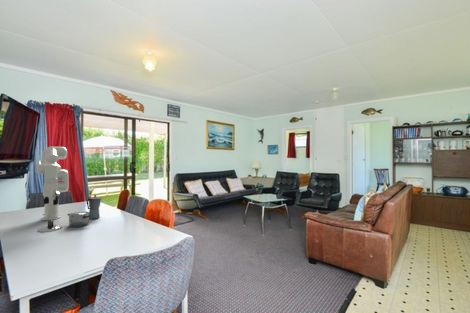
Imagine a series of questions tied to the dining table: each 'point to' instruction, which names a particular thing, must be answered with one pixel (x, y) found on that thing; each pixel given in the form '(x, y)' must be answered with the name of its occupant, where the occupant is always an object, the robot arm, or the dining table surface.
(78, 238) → the dining table surface
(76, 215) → the cooker pot
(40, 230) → the lid
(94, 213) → the moka pot
